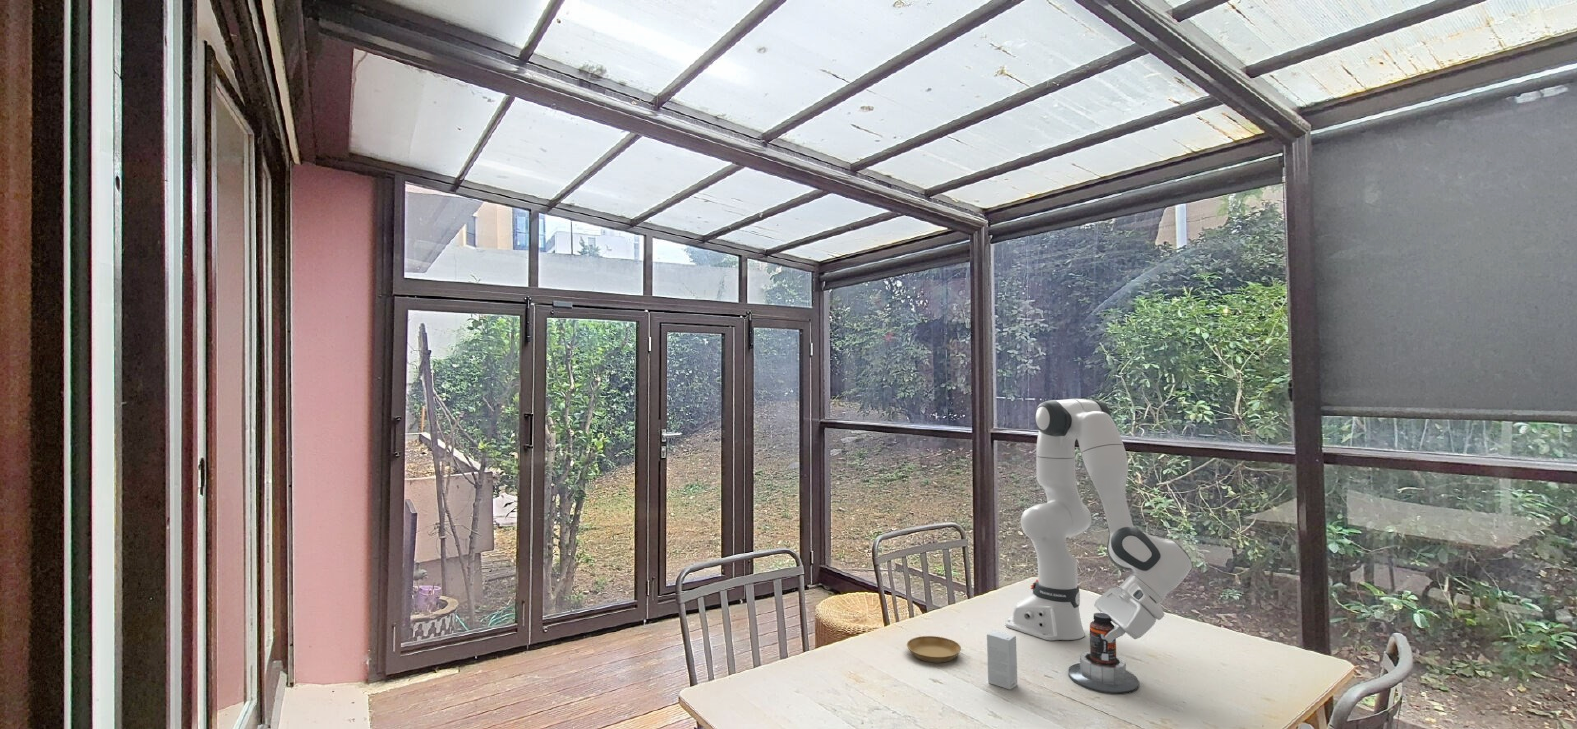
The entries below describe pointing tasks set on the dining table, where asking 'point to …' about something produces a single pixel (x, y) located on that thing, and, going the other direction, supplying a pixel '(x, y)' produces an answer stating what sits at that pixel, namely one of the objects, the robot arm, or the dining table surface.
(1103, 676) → the duct collar
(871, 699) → the dining table surface
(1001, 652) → the skincare box
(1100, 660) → the supplement bottle
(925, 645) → the plant saucer
